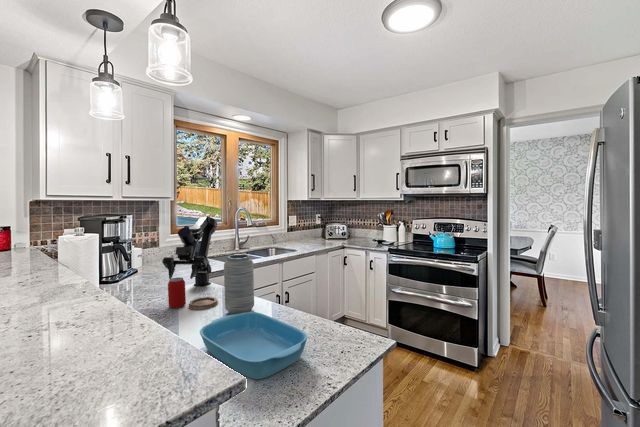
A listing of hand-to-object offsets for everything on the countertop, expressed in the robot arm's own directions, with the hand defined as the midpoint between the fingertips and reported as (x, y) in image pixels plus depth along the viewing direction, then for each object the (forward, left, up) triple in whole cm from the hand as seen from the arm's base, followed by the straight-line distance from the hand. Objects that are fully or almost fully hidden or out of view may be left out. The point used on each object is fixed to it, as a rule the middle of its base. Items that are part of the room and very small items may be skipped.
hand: (180, 278), depth 137 cm
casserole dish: (+23, +56, -11) cm, 62 cm away
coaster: (-2, +11, -11) cm, 16 cm away
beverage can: (+4, +2, -11) cm, 12 cm away
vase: (-2, +31, -11) cm, 33 cm away
